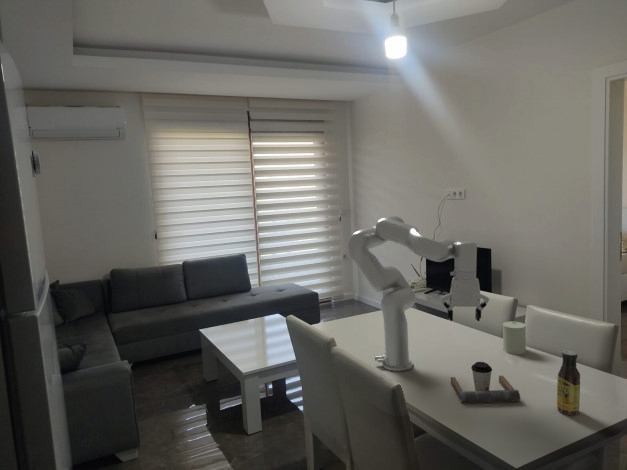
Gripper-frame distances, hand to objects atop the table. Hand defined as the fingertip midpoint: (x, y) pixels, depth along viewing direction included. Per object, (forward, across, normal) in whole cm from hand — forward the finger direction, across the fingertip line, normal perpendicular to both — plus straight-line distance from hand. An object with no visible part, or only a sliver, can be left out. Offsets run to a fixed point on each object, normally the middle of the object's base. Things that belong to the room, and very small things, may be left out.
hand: (464, 319), depth 163 cm
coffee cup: (+24, +5, -9) cm, 26 cm away
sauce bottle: (+22, +27, -24) cm, 42 cm away
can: (+24, +29, +28) cm, 47 cm away
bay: (+23, +5, -10) cm, 26 cm away
